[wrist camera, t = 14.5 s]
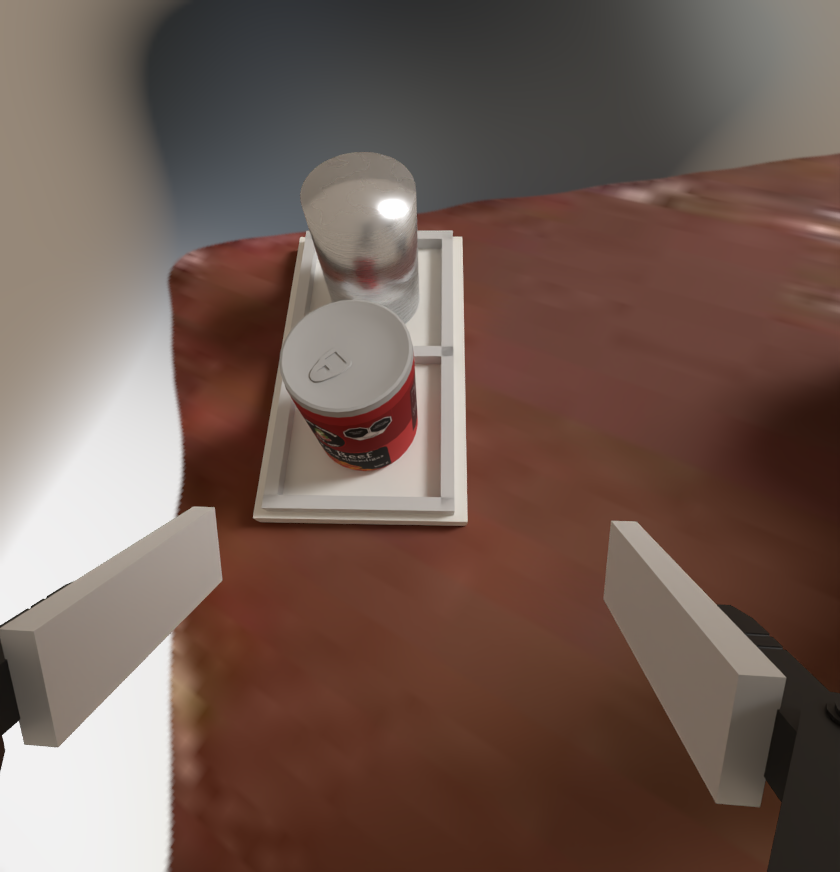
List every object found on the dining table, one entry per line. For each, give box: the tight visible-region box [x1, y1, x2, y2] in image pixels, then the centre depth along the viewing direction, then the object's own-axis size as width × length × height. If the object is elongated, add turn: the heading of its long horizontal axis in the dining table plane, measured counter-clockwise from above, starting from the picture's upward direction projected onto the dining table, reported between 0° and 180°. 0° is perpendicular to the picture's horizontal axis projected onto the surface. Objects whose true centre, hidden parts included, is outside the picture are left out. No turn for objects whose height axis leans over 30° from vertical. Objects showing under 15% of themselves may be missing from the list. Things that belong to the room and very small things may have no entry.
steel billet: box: [300, 152, 420, 324], centre depth 36 cm, size 8×8×11 cm
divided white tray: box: [253, 231, 467, 526], centre depth 39 cm, size 16×28×3 cm, turn 179°
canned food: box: [279, 299, 418, 471], centre depth 31 cm, size 8×8×11 cm
